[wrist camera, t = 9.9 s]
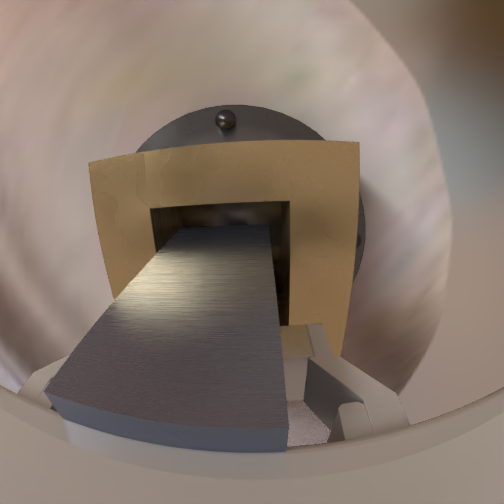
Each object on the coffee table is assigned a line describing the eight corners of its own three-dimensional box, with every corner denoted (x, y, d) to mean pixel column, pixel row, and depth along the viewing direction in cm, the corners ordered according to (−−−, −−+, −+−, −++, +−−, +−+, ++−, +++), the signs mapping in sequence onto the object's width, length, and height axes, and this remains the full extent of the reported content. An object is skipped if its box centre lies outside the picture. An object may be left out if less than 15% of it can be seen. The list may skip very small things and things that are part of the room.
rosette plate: (143, 337, 22) (117, 388, 16) (106, 127, 16) (50, 125, 10) (346, 334, 21) (368, 389, 15) (360, 110, 15) (406, 94, 9)
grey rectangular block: (194, 319, 14) (137, 496, 5) (181, 228, 12) (43, 391, 3) (269, 318, 14) (277, 511, 5) (268, 224, 12) (288, 427, 3)
